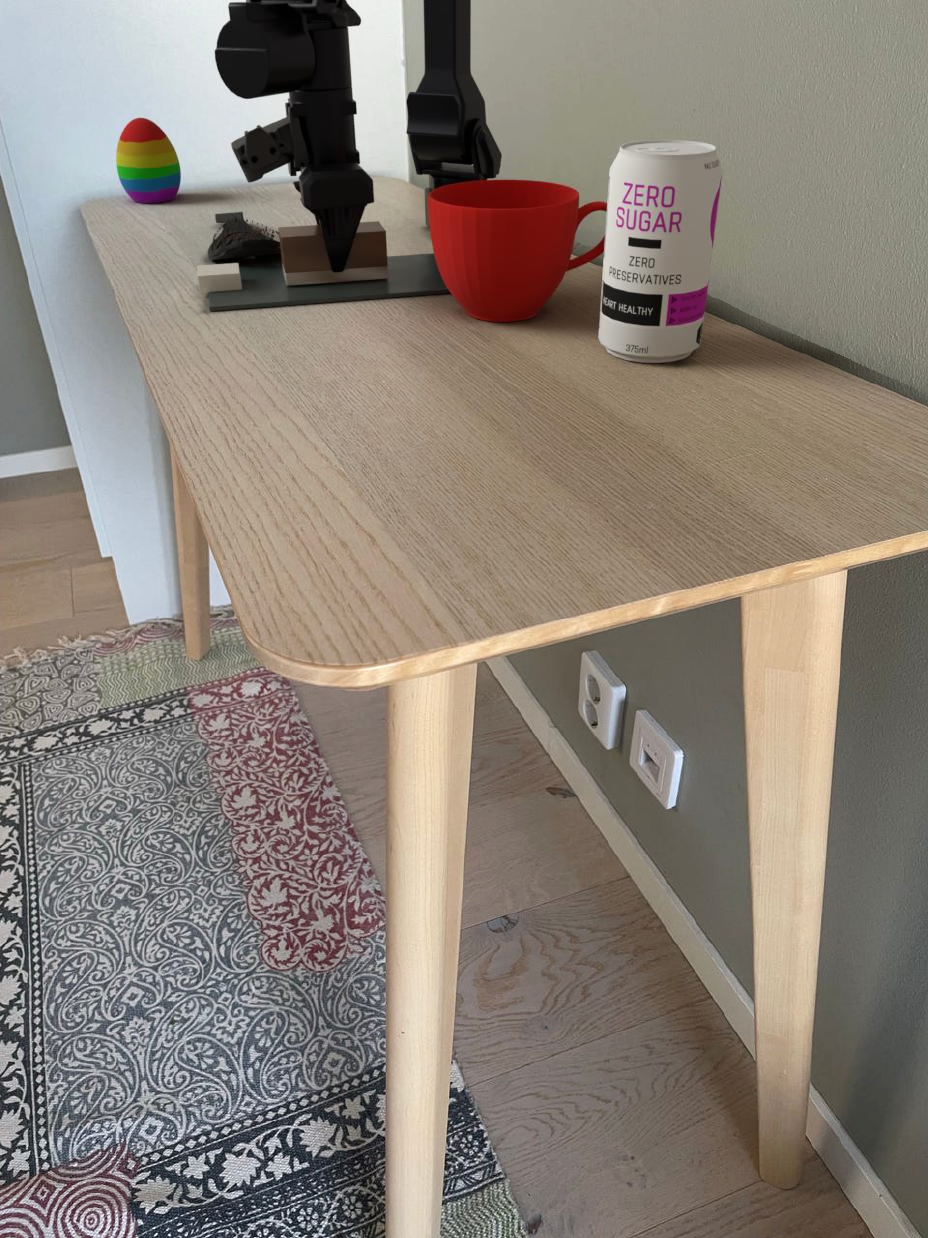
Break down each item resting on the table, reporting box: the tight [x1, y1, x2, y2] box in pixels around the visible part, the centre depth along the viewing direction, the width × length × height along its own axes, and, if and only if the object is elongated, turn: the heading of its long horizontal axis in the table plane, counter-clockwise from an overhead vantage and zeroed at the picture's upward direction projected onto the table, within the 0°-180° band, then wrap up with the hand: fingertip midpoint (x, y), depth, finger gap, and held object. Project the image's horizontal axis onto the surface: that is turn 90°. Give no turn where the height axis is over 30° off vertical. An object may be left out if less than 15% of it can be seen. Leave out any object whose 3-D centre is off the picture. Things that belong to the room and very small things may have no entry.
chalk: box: [196, 262, 242, 294], centre depth 95 cm, size 4×4×2 cm
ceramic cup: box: [428, 179, 607, 323], centre depth 86 cm, size 13×17×10 cm
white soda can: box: [597, 139, 724, 364], centre depth 75 cm, size 8×8×15 cm
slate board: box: [208, 252, 451, 312], centre depth 97 cm, size 24×14×1 cm, turn 103°
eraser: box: [277, 220, 388, 286], centre depth 96 cm, size 10×4×4 cm, turn 103°
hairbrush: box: [207, 211, 281, 261], centre depth 110 cm, size 8×4×25 cm
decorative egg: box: [115, 117, 182, 204], centre depth 130 cm, size 8×8×10 cm
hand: (335, 265), depth 97 cm, fingers closed on eraser, 4 cm apart
